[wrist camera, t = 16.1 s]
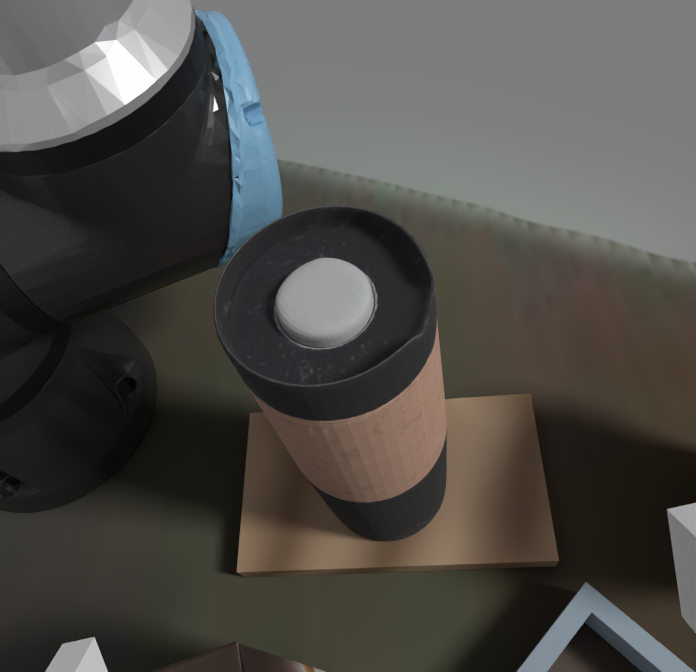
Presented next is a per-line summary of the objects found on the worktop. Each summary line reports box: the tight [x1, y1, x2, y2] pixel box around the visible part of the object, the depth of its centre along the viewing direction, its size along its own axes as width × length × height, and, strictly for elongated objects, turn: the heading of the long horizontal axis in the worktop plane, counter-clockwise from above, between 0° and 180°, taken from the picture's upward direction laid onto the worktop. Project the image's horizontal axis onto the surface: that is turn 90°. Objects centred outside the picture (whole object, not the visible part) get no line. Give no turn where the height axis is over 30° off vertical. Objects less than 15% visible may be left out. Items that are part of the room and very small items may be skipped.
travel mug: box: [213, 205, 447, 541], centre depth 29 cm, size 8×8×20 cm
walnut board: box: [237, 393, 559, 577], centre depth 38 cm, size 18×10×2 cm, turn 90°
